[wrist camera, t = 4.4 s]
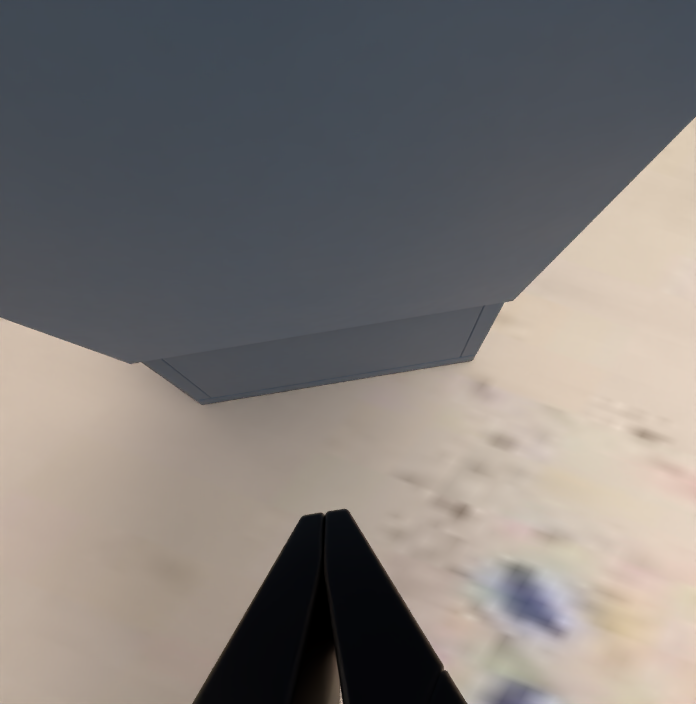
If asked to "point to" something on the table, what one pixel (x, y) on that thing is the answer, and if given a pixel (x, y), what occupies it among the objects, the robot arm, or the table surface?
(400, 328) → the box
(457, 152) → the lid
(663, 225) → the table surface
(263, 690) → the robot arm
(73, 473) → the table surface
